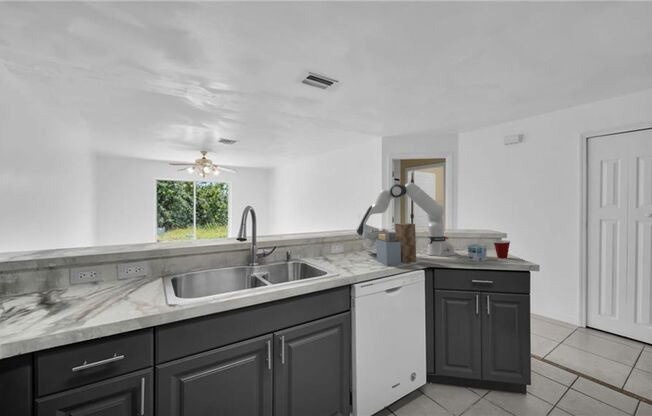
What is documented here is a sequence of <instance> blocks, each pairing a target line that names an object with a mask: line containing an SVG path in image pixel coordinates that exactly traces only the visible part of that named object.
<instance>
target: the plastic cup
mask: <svg viewBox="0 0 652 416" xmlns="http://www.w3.org/2000/svg"><path fill="white" fill-rule="evenodd" d="M492 243H493V245H494V249H495V253H496V257H497V258H498V259H508V255H509V250H510V249H509V248H510V243H511V240H509V239H508V240H506V239H505V240H504V239H503V240H494V241H492Z"/></svg>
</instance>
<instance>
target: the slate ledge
mask: <svg viewBox="0 0 652 416" xmlns="http://www.w3.org/2000/svg"><path fill="white" fill-rule="evenodd" d="M375 246H376V261H377V262H379V263H381V264H383V265H384V266H398V265H399V266H400V265H402V263H401V244H400V240H396V242H388V241H387V240H383V239H379V238H377V240H376V244H375Z"/></svg>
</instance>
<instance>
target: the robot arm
mask: <svg viewBox="0 0 652 416" xmlns="http://www.w3.org/2000/svg"><path fill="white" fill-rule="evenodd" d="M403 196H407V197H409V199H410V200H412V202H414V203H415V204H416V205H417V206H418V208H420V209H422V211H424V212H425V213H426V216H427V230H428V231H427V232H428V233H427V234H428V235H427V243H428V244H427V245H428V246H427V251H426V255H429V256H435V257H436V256H438V257H439V256H440V257H445V256H446V257H447V256H455V255H457V256H458V252H457V251H455V248H454V246H453V245H452V244H451V243H450V242H448V241H447V240H449V236H444V221H443V215H444V214H445V210H444V207H443V206H442V205H441V204H439V203H438V202H437V201H436V200H435V199H434V198H432V197H431V196H430V195H429V194H427V192H425V190H423V189H422V188H421V187H420V186H419V185H417V184H416V183H414V182H411V181H410V182H408V183H406V184H405V185H403V184H397V183H396V184H393V185H391V187H390V188H389V189H386V188H384V189H381V190H380V191H379V193H378V195H377V197H376V199H375V202H374V203H373V205H370V206H369V207H368V209H367V210H366V211H365V214H364V215H363V217H362V219H361V221H360V222H359V224H358V225H357V227H356V233H357V234H358V236H361V237H360V238H361V239H364V241H363V247H364V248H365V249H368V250H370V249H372V248H374V246H376V240H377V238H379V234H385V232H389V230H388V229H386V228H382V230H379V228H377V227H376V226H372V225H368V224H367V222H368V220H369V218H370V217H371V215H374V214H375V215H376V214H383V213H386V212H387V210H388V208H389V206H390V204H391V201H392V199H400V198H402V197H403Z"/></svg>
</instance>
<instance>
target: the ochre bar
mask: <svg viewBox="0 0 652 416" xmlns="http://www.w3.org/2000/svg"><path fill="white" fill-rule="evenodd" d="M379 239H383V240H387V241H388V242H396V233H395V231H388V232H385V234H379Z"/></svg>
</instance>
